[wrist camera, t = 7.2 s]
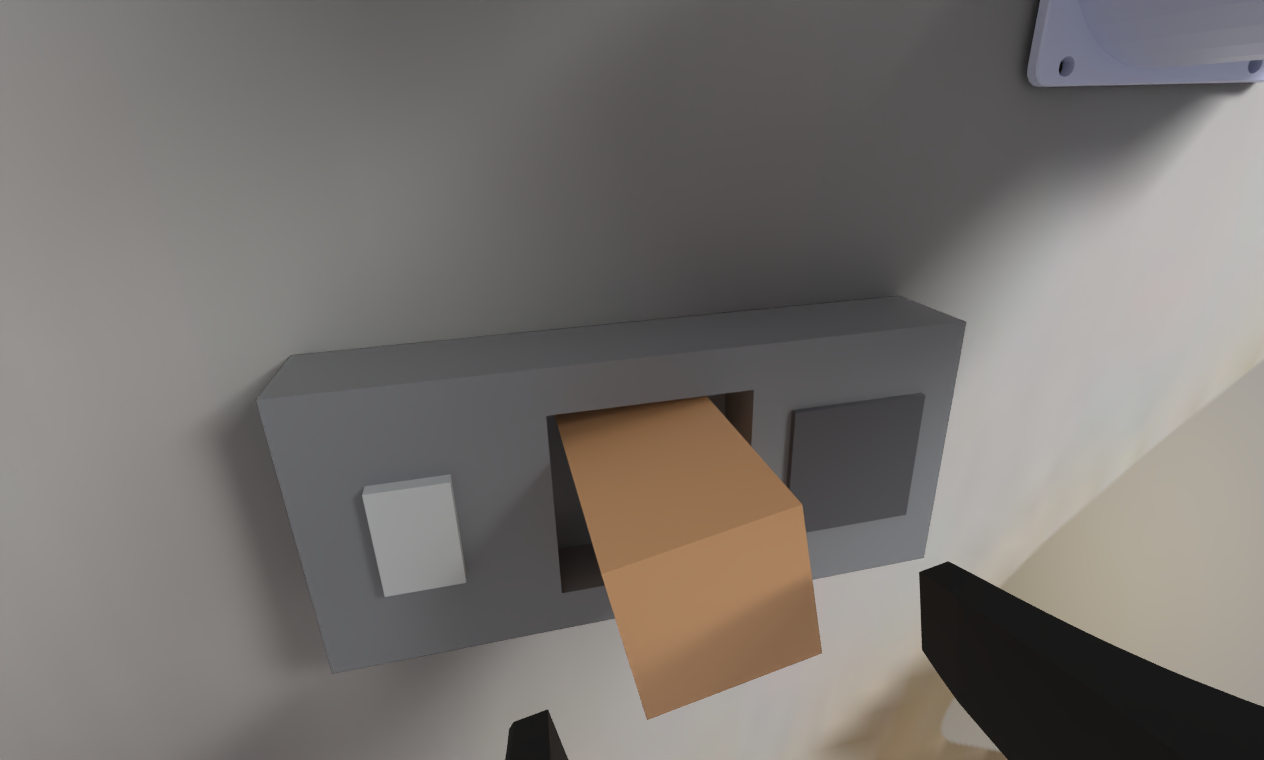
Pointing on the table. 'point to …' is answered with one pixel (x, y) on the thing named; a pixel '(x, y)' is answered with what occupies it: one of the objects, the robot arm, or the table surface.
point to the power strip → (540, 473)
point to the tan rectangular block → (692, 548)
